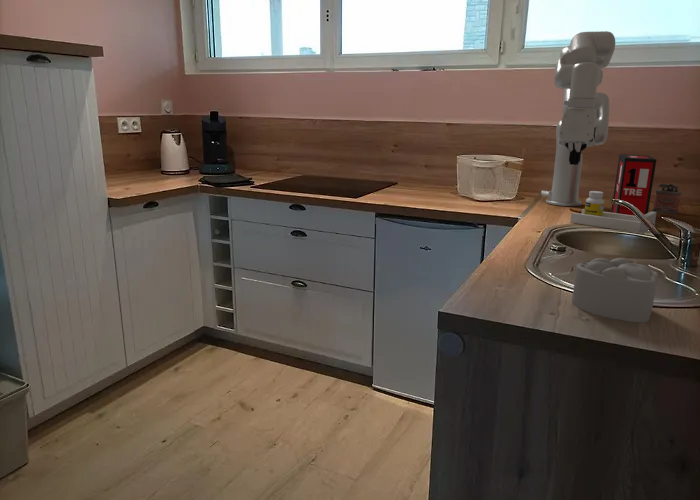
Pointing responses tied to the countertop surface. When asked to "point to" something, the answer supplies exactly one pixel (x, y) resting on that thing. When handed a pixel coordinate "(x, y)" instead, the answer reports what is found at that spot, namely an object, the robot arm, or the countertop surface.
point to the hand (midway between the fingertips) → (574, 164)
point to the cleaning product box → (634, 182)
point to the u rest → (614, 221)
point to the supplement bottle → (594, 204)
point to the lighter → (667, 199)
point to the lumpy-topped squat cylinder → (615, 289)
